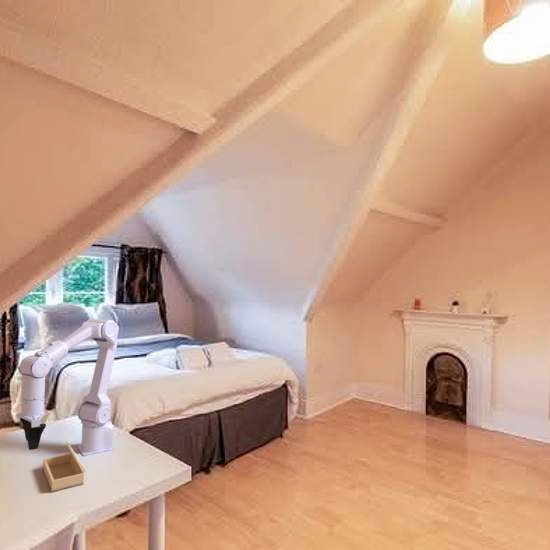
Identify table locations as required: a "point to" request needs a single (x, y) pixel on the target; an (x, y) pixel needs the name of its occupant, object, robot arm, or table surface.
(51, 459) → the carton
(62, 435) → the table surface
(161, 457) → the table surface
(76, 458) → the lid flap
